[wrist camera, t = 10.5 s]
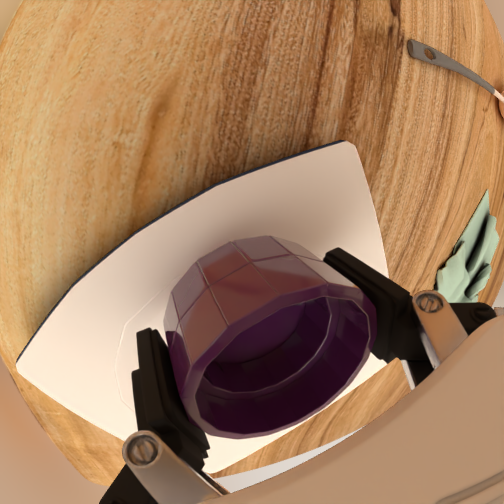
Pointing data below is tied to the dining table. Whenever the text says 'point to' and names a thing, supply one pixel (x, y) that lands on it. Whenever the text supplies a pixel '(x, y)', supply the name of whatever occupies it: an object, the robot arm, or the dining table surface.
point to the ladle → (452, 67)
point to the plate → (177, 264)
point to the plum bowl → (264, 337)
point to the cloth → (470, 258)
